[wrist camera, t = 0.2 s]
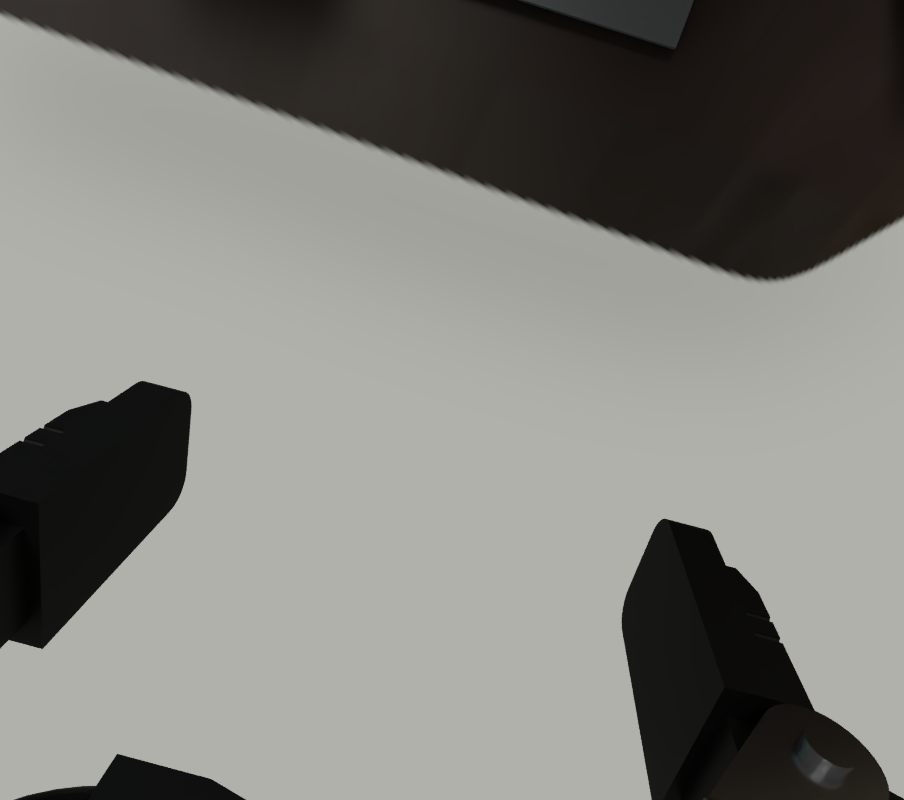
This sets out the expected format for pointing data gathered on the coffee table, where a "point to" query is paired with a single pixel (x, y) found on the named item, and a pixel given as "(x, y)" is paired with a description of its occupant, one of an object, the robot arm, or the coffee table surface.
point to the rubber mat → (628, 16)
